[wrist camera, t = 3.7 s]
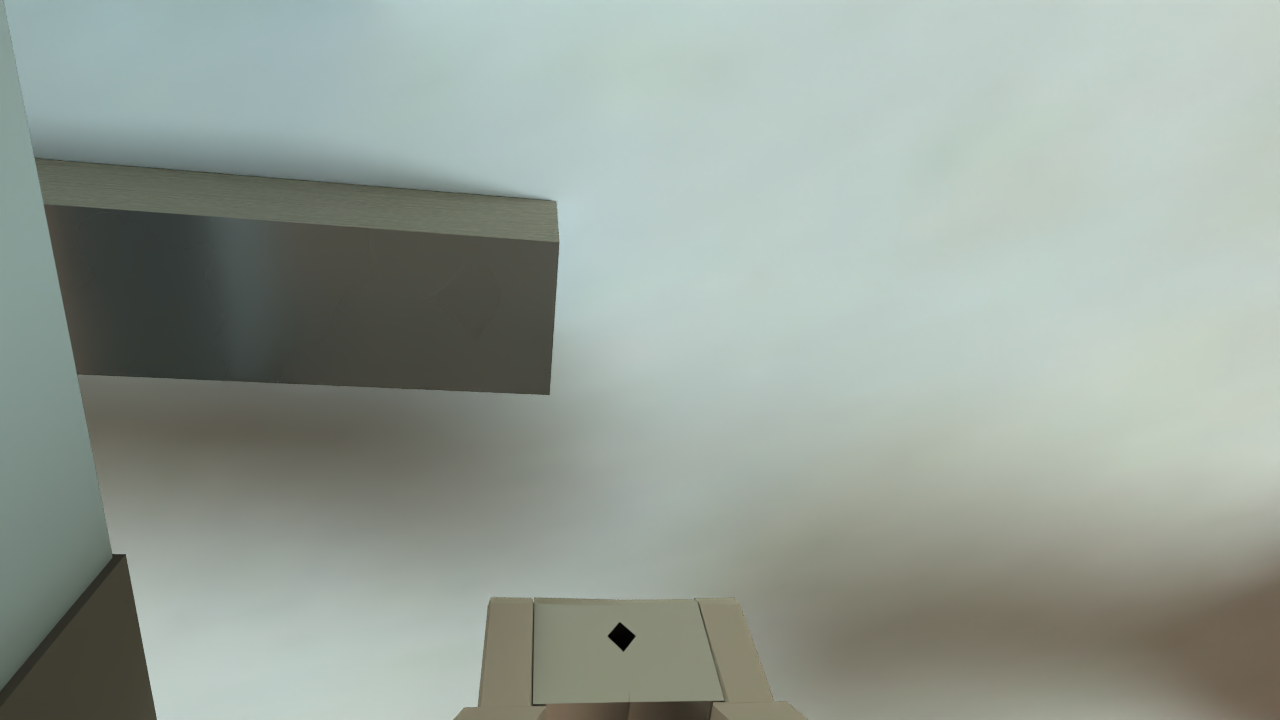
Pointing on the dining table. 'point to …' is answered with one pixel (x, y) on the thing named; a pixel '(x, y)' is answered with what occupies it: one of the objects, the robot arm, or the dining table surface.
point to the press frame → (301, 280)
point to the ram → (51, 480)
